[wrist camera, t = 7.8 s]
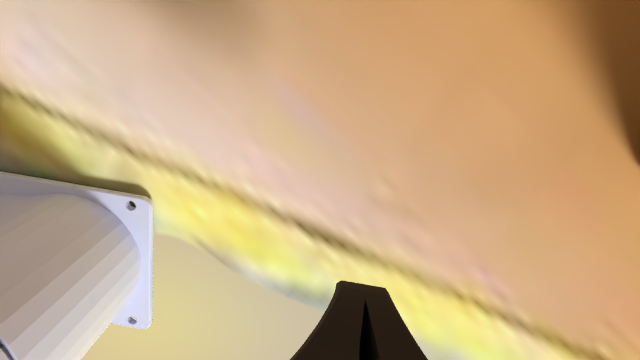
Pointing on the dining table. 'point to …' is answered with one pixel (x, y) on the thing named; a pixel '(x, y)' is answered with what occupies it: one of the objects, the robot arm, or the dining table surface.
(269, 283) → the dining table surface
